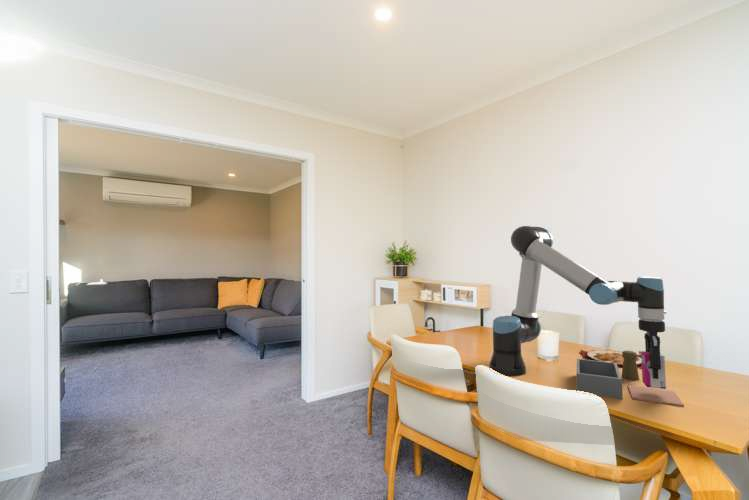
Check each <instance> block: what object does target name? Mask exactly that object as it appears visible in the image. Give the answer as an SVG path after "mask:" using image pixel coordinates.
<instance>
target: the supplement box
mask: <svg viewBox="0 0 749 500" xmlns="http://www.w3.org/2000/svg"><path fill="white" fill-rule="evenodd" d="M640 351H641V350H640ZM641 359H642V369H641V378H642V383H643V384H644V385H645V387H648V388H655V387H651V386H650V369H649V368H648V367H650V354H649V352H646V350H645V351H641ZM665 360H666V359H665V355H663V354H662V353H661V352H660V361H661V369H660V388H659V389H663V390H667V380H666V378H667V377H666V361H665ZM655 389H656V388H655Z"/></svg>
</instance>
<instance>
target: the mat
mask: <svg viewBox="0 0 749 500" xmlns="http://www.w3.org/2000/svg"><path fill="white" fill-rule="evenodd" d="M627 388H628V391H629V394H630V396H631V399H632V400H637V401H643V402H652V403H656V402H658V403H657V404H663V403H665V404H664V405H669V404H671V406H676V405H677V406H676V407H683V408H684V407H685V405H684V403H683V401H682V400H681V398H680V397H679V396H678V394H677V393H676V391H675V390H669V389H661V388H652V387H646V386H640V385H639V386H638V385H631V384H627Z"/></svg>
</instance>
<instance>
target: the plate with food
mask: <svg viewBox="0 0 749 500" xmlns="http://www.w3.org/2000/svg"><path fill="white" fill-rule="evenodd" d="M622 352H623V351H616V350H609V349H598V350H597V349H596V350H590V351H586V350H582V349H580V353H581V355H582V357H583V358H582V359H586V360H594V361H603V362H612V363H617V366H618V368H623V361H624V358H623V357H622ZM636 364H637V368H639V370H642V359H641V350H639V351H638V354H637V359H636Z"/></svg>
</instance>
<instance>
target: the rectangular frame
mask: <svg viewBox="0 0 749 500" xmlns="http://www.w3.org/2000/svg"><path fill="white" fill-rule="evenodd" d="M585 359H586V358H576V373H575V374H576V377H575V378H576V391H577V390H579V391H584V392H589V393H593V394H596V395H595V396H598V397H605V398H612V399H619V400H623V378H622V377H621V376H622V374H621V372H620V370H619V369H620V368H619V367H618V366H617V363H612V362H603V361H594V360H585Z"/></svg>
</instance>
